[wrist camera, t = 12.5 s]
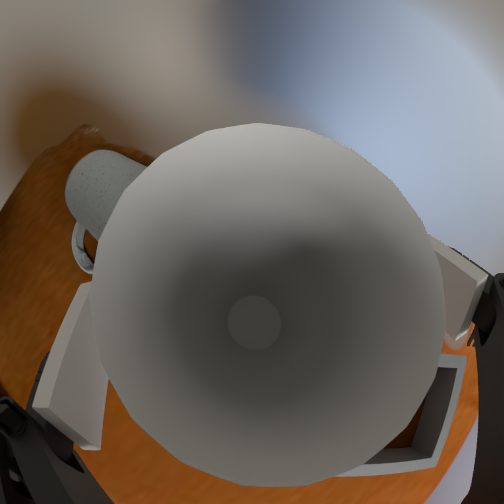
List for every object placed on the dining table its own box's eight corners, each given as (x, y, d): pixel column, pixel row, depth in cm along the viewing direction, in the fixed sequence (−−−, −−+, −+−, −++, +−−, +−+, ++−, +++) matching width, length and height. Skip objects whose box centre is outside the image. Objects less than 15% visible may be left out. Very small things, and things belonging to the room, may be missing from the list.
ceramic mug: (124, 171, 27) (97, 126, 19) (181, 204, 26) (161, 157, 18) (66, 250, 24) (21, 223, 16) (117, 296, 23) (72, 279, 15)
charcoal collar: (319, 458, 19) (332, 476, 15) (352, 343, 22) (372, 343, 18) (414, 455, 18) (435, 466, 15) (442, 356, 22) (467, 356, 18)
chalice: (192, 304, 22) (66, 191, 5) (268, 273, 23) (337, 101, 6) (227, 386, 20) (191, 525, 3) (304, 352, 21) (479, 367, 4)
